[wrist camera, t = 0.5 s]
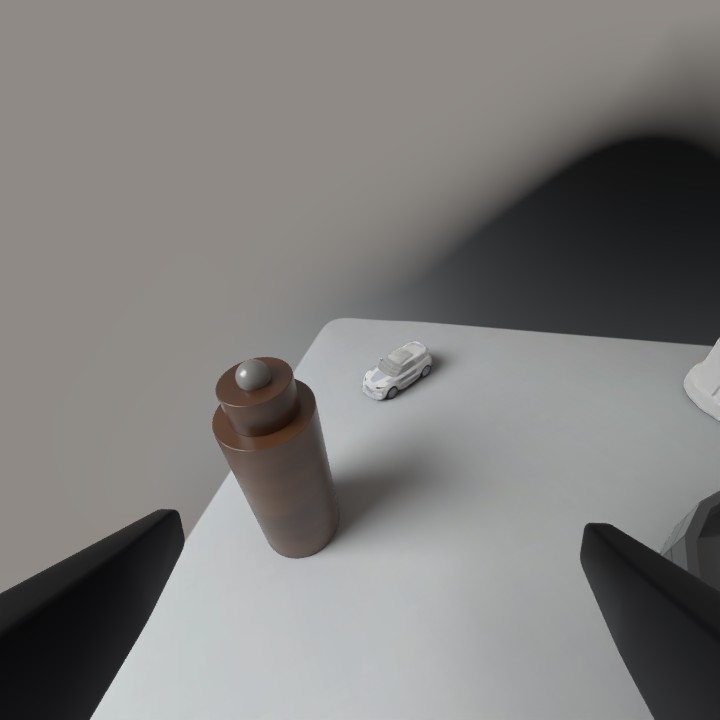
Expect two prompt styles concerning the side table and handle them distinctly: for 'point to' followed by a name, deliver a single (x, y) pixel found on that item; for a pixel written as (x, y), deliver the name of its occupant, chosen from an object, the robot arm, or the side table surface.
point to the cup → (706, 383)
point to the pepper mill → (277, 454)
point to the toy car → (397, 371)
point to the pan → (698, 542)
